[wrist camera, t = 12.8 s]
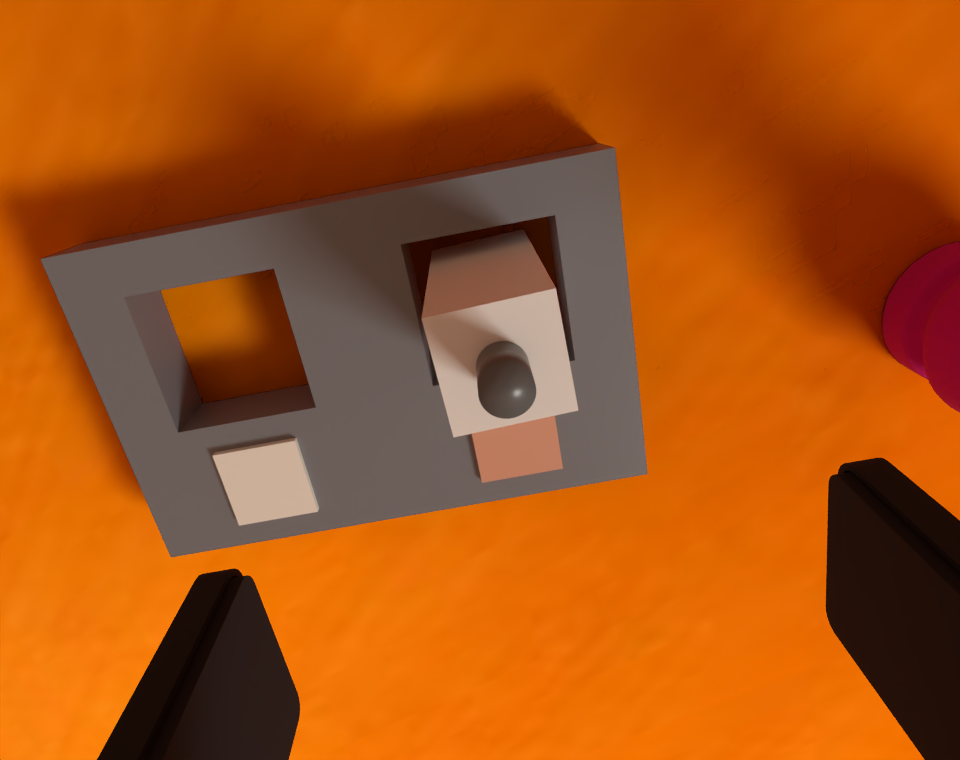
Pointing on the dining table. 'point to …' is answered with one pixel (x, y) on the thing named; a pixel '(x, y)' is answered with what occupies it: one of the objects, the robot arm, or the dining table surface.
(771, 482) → the dining table surface
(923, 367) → the pepper mill
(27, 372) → the dining table surface
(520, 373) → the plug
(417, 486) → the socket board
